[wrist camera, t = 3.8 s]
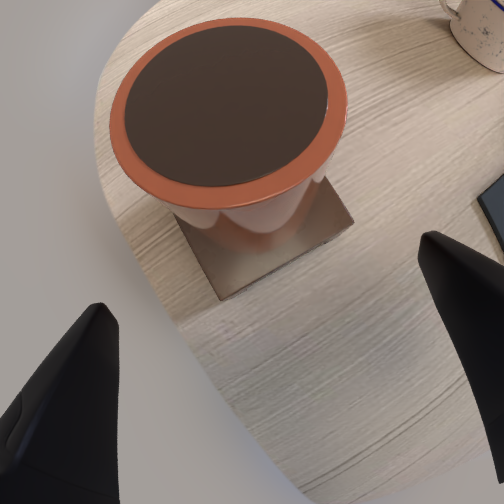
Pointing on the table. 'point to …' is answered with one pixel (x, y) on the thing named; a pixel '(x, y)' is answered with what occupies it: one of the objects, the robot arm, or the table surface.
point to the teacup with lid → (480, 30)
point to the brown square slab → (261, 265)
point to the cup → (232, 128)
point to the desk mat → (495, 207)
